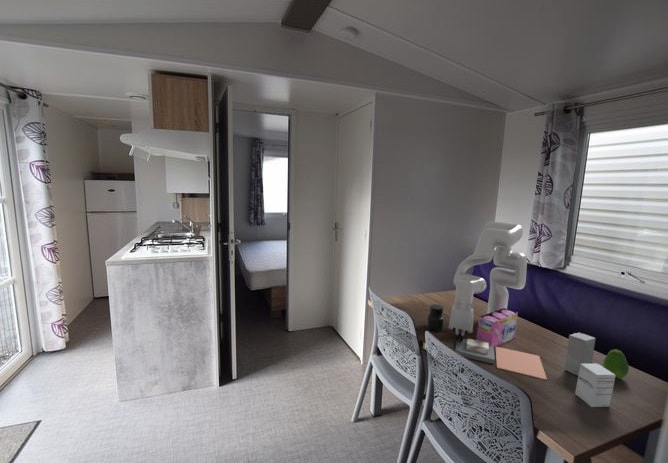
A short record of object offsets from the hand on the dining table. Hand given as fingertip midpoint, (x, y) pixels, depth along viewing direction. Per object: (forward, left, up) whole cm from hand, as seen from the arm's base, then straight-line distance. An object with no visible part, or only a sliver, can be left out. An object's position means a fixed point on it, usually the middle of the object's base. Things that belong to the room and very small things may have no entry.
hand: (459, 342), depth 153 cm
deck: (0, +7, -3) cm, 8 cm away
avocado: (-6, +60, -3) cm, 60 cm away
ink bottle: (-17, -13, -3) cm, 22 cm away
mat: (0, +25, -3) cm, 25 cm away
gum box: (-18, +16, -3) cm, 25 cm away
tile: (0, +8, -1) cm, 8 cm away
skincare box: (-4, +47, -3) cm, 47 cm away
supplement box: (+17, +47, -3) cm, 50 cm away
